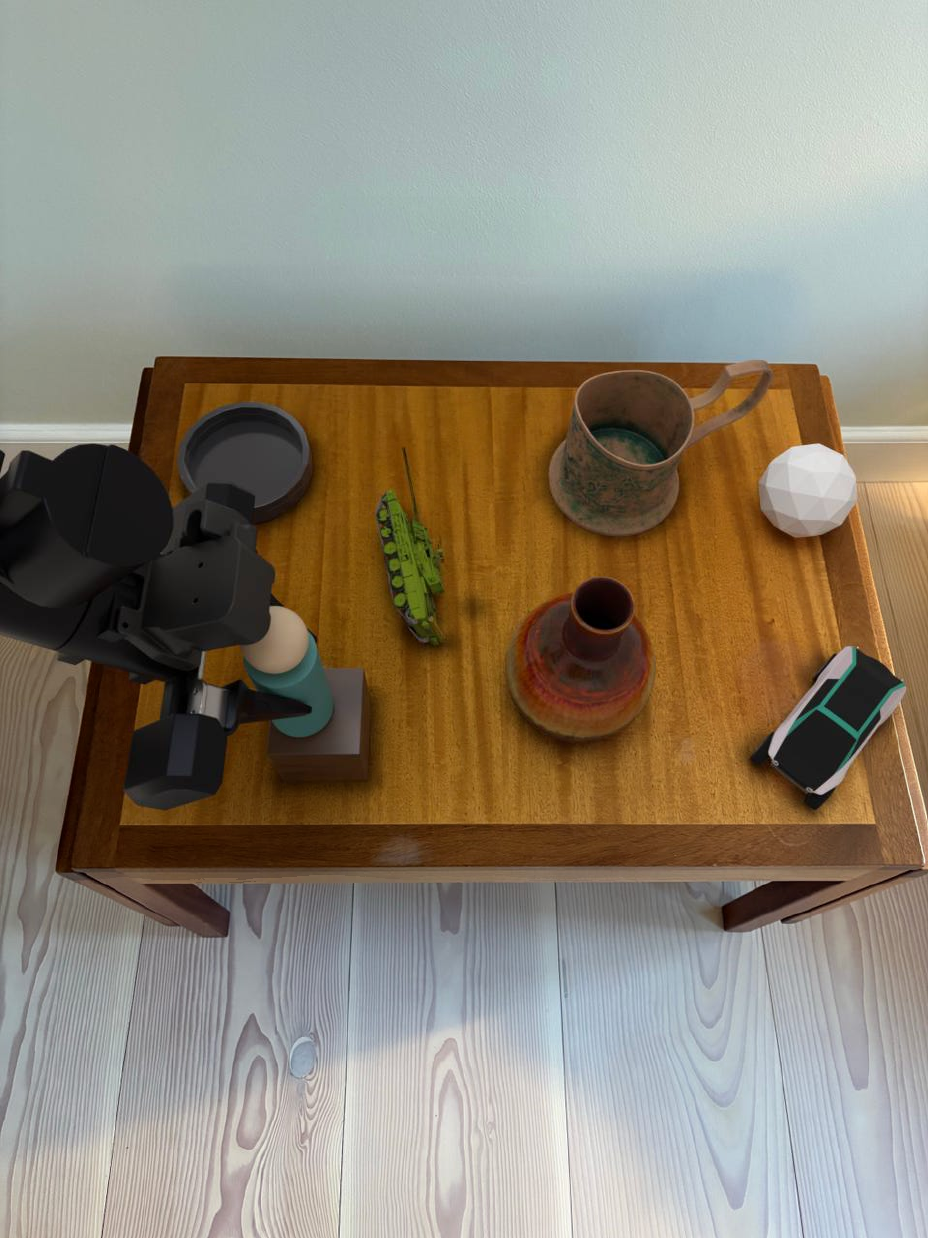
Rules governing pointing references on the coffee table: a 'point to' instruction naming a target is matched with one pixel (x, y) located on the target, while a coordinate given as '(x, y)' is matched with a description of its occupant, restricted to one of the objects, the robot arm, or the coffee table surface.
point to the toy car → (832, 723)
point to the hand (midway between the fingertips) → (310, 677)
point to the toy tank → (411, 565)
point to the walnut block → (329, 736)
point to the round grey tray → (249, 455)
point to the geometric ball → (807, 490)
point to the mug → (635, 446)
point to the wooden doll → (290, 671)
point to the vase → (581, 663)
